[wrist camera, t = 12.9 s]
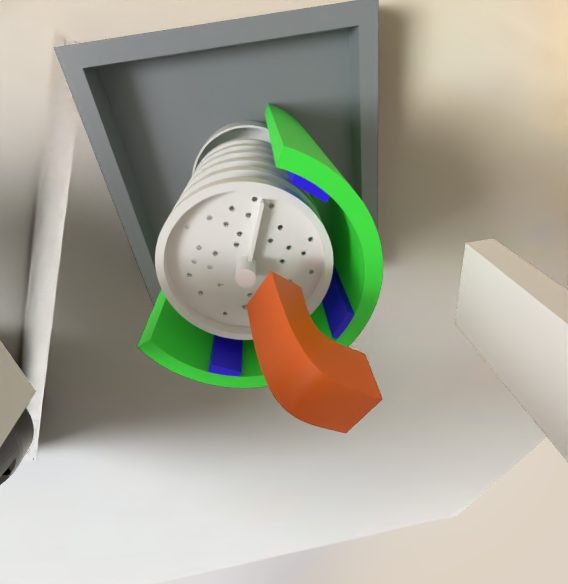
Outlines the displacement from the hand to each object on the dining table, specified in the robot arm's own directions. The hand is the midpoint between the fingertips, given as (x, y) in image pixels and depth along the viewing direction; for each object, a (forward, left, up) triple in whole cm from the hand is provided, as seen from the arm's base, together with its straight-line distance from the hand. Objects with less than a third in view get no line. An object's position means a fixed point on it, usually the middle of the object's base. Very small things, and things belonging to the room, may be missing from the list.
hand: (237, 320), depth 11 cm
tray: (0, 0, -17) cm, 17 cm away
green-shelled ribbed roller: (+1, 0, -16) cm, 16 cm away
